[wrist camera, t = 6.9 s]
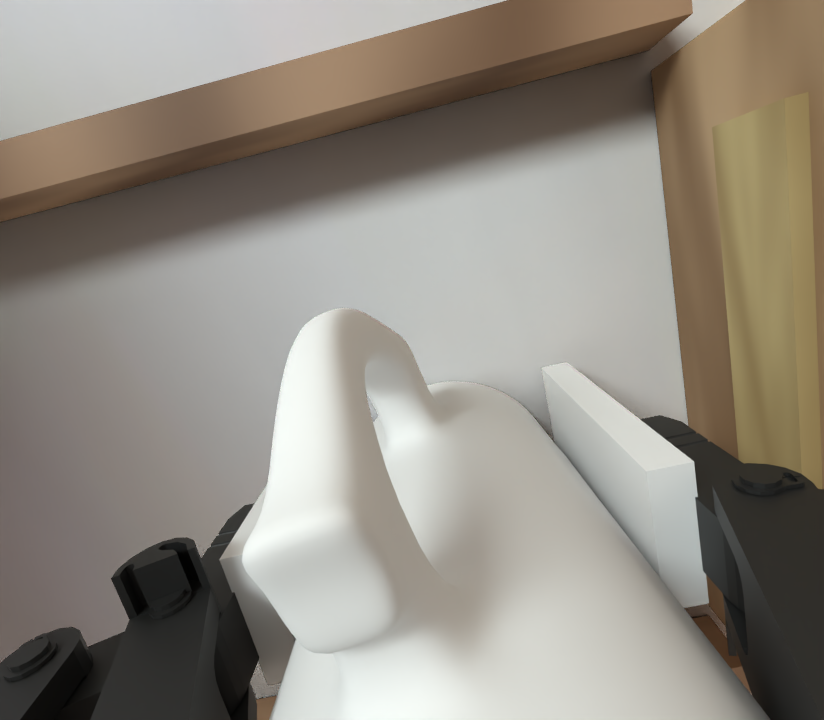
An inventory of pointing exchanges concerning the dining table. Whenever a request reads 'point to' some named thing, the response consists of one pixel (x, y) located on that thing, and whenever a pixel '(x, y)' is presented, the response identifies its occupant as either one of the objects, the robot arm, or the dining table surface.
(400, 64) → the guide lane
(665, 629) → the mug
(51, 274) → the dining table surface
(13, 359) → the dining table surface
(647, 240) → the dining table surface
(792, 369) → the end stop
